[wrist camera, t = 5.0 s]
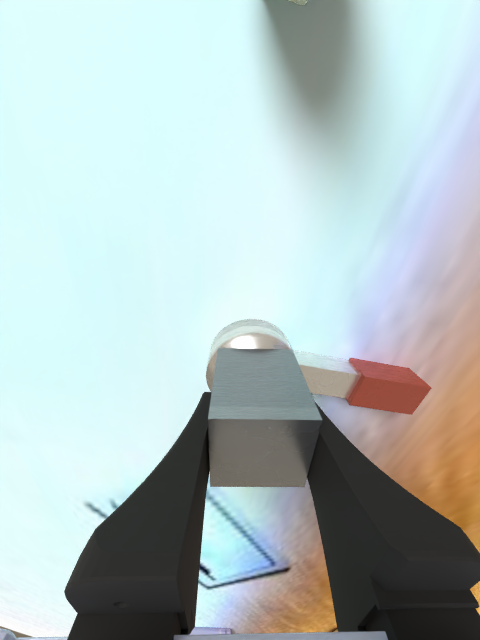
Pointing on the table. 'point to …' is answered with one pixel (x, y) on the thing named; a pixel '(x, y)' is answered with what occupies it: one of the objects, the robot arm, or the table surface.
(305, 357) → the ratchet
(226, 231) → the table surface
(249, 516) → the table surface
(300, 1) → the valve
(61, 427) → the table surface
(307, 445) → the brushed metal block
